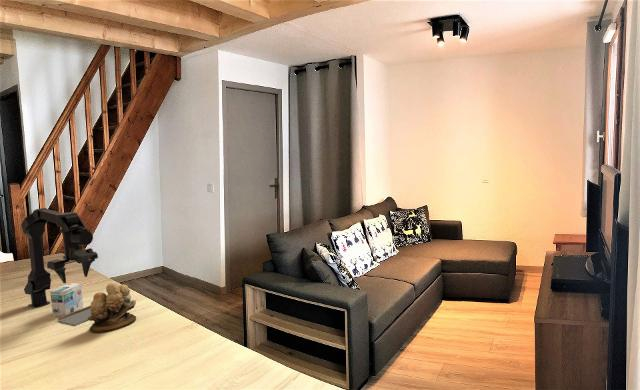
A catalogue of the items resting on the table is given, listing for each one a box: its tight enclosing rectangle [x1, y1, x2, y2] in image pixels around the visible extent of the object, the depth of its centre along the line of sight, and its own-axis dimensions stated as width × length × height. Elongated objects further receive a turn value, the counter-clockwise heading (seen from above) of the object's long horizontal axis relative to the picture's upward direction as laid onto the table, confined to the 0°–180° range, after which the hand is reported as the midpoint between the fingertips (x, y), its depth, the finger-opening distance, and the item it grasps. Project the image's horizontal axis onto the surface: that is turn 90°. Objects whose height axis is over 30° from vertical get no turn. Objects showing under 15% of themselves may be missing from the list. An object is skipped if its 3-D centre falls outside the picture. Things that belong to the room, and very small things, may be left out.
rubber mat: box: [57, 309, 92, 327], centre depth 185 cm, size 11×18×1 cm, turn 152°
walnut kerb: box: [57, 304, 91, 321], centre depth 188 cm, size 1×16×1 cm, turn 152°
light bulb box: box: [49, 282, 84, 317], centre depth 190 cm, size 11×7×11 cm, turn 168°
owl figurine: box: [88, 282, 137, 334], centre depth 173 cm, size 18×12×17 cm, turn 136°
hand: (75, 279), depth 186 cm, fingers open, 9 cm apart
